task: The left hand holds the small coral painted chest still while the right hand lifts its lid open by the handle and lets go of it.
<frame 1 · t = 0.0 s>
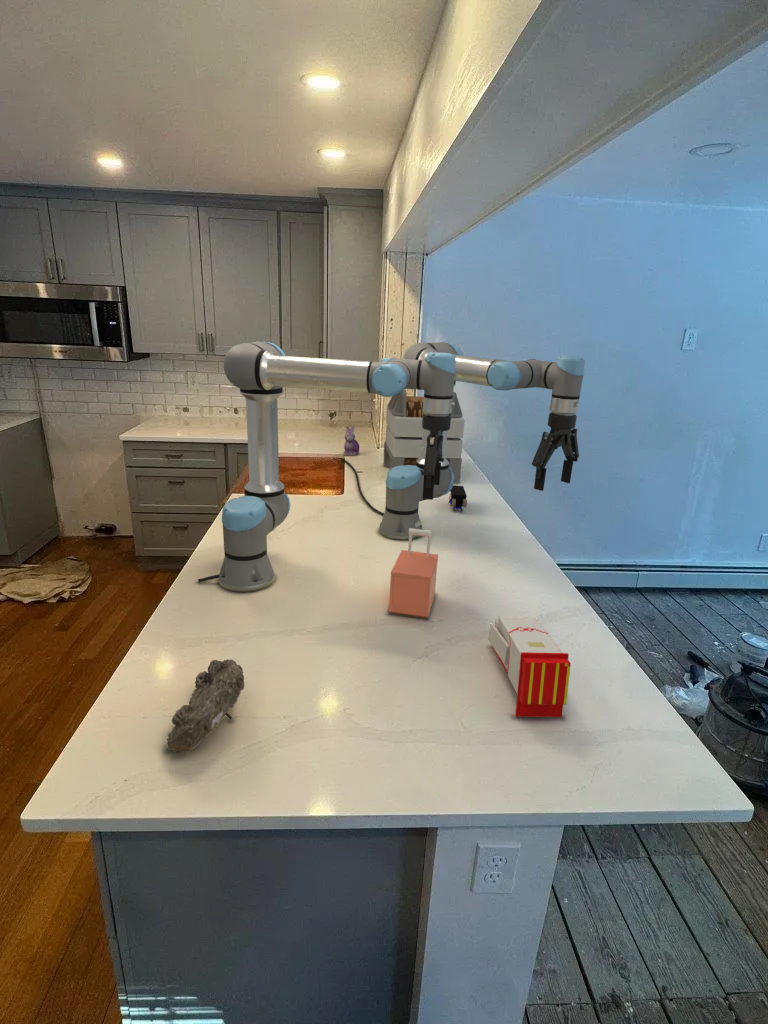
left hand: (431, 491, 155), 28 cm above the counter, tool pointing down, fingers open, 13 cm apart
right hand: (552, 485, 166), 28 cm above the counter, tool pointing down, fingers open, 13 cm apart
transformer: (419, 473, 275), on the counter
figurine: (351, 454, 305), on the counter
fossil: (212, 717, 108), on the counter
figurine character: (456, 507, 229), on the counter
lid: (416, 551, 148), point 15 cm above the counter, hinge at 0.0°
toy: (520, 675, 125), on the counter
chest: (412, 604, 153), on the counter
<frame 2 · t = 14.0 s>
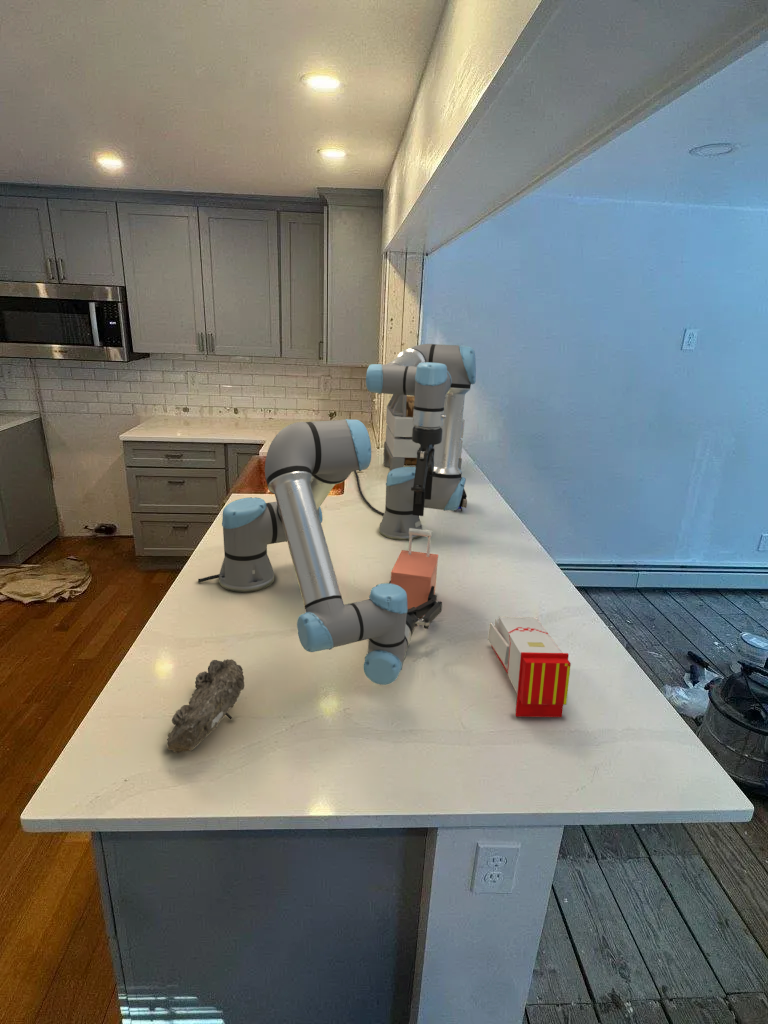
left hand: (411, 588, 147), 7 cm above the counter, tool horizontal, fingers closed on chest, 10 cm apart
right hand: (422, 506, 149), 26 cm above the counter, tool pointing down, fingers open, 13 cm apart
chest: (412, 604, 153), on the counter, touching left hand
everything else where it was.
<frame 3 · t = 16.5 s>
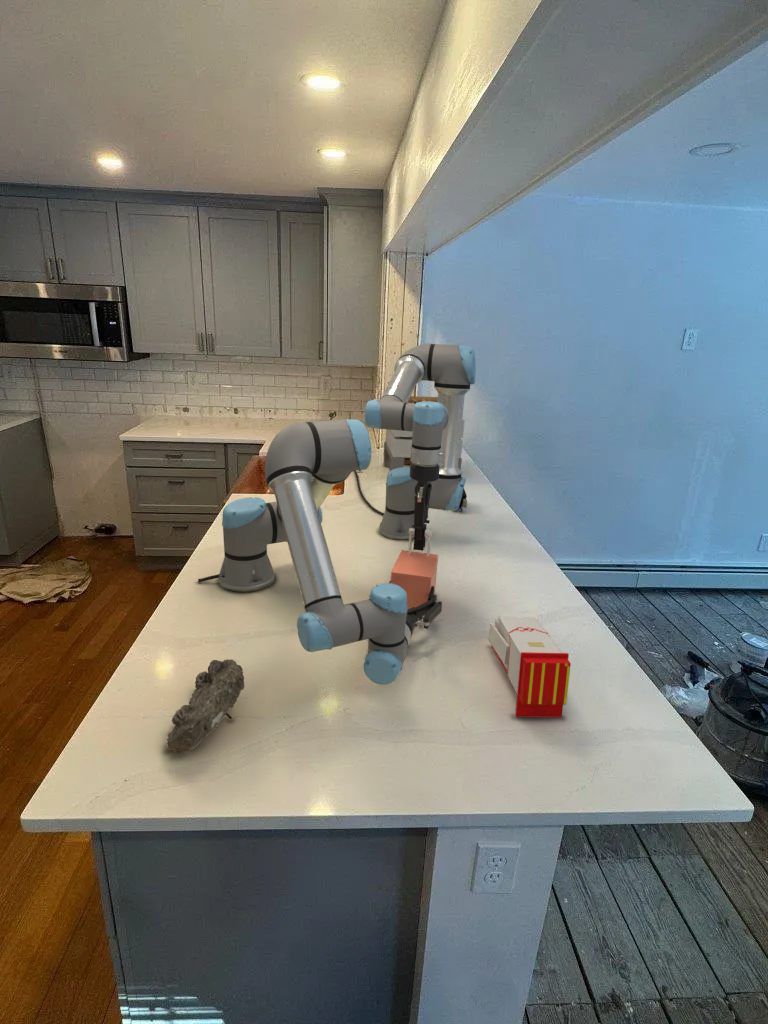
left hand: (411, 588, 147), 7 cm above the counter, tool horizontal, fingers closed on chest, 10 cm apart
right hand: (419, 547, 153), 14 cm above the counter, tool pointing down, fingers closed on lid, 2 cm apart
lid: (416, 551, 148), point 15 cm above the counter, hinge at -0.1°, touching right hand
chest: (412, 604, 153), on the counter, touching left hand
everything else where it was.
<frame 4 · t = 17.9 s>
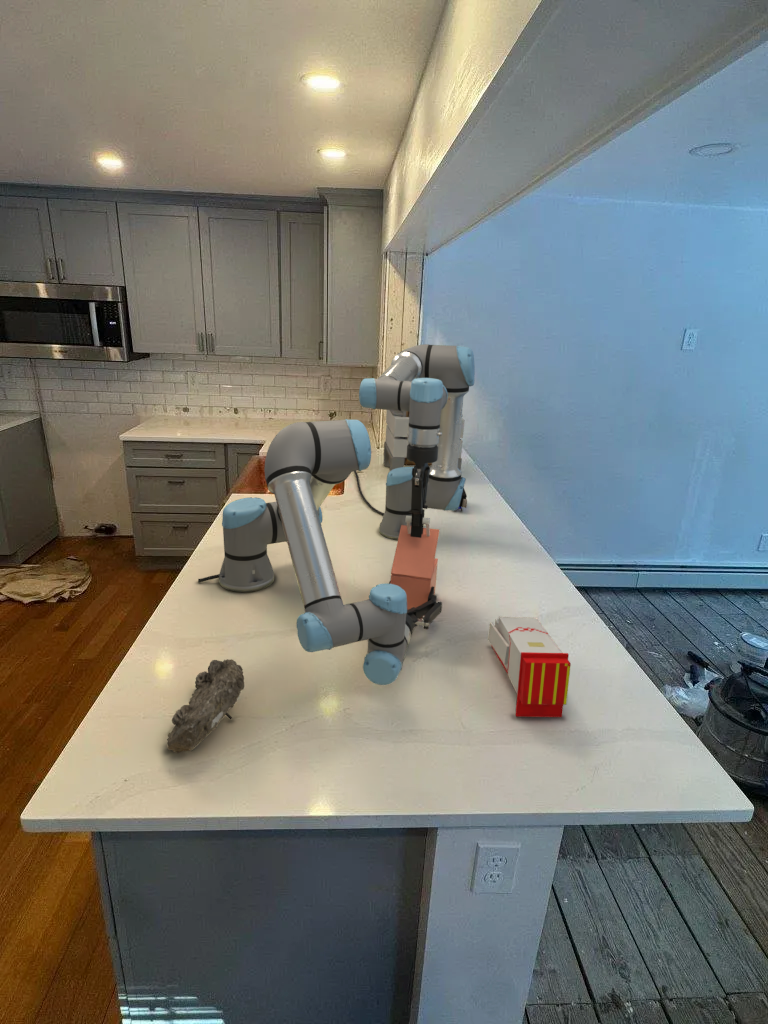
left hand: (411, 588, 147), 7 cm above the counter, tool horizontal, fingers closed on chest, 10 cm apart
right hand: (416, 534, 144), 21 cm above the counter, tool pointing down, fingers closed on lid, 2 cm apart
lid: (414, 544, 143), point 19 cm above the counter, hinge at 36.5°, touching right hand
chest: (412, 604, 153), on the counter, touching left hand
everything else where it was.
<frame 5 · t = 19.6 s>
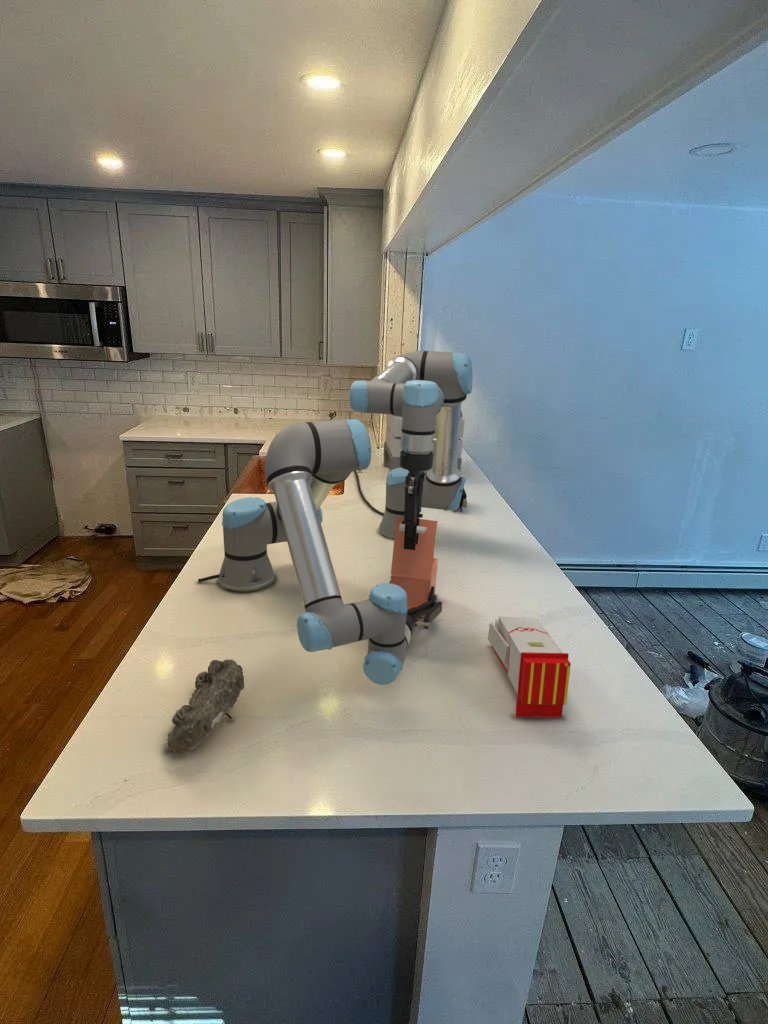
left hand: (411, 588, 147), 7 cm above the counter, tool horizontal, fingers closed on chest, 10 cm apart
right hand: (410, 545, 136), 21 cm above the counter, tool pointing down, fingers open, 3 cm apart
lid: (411, 548, 138), point 20 cm above the counter, hinge at 72.2°
chest: (412, 604, 153), on the counter, touching left hand
everything else where it was.
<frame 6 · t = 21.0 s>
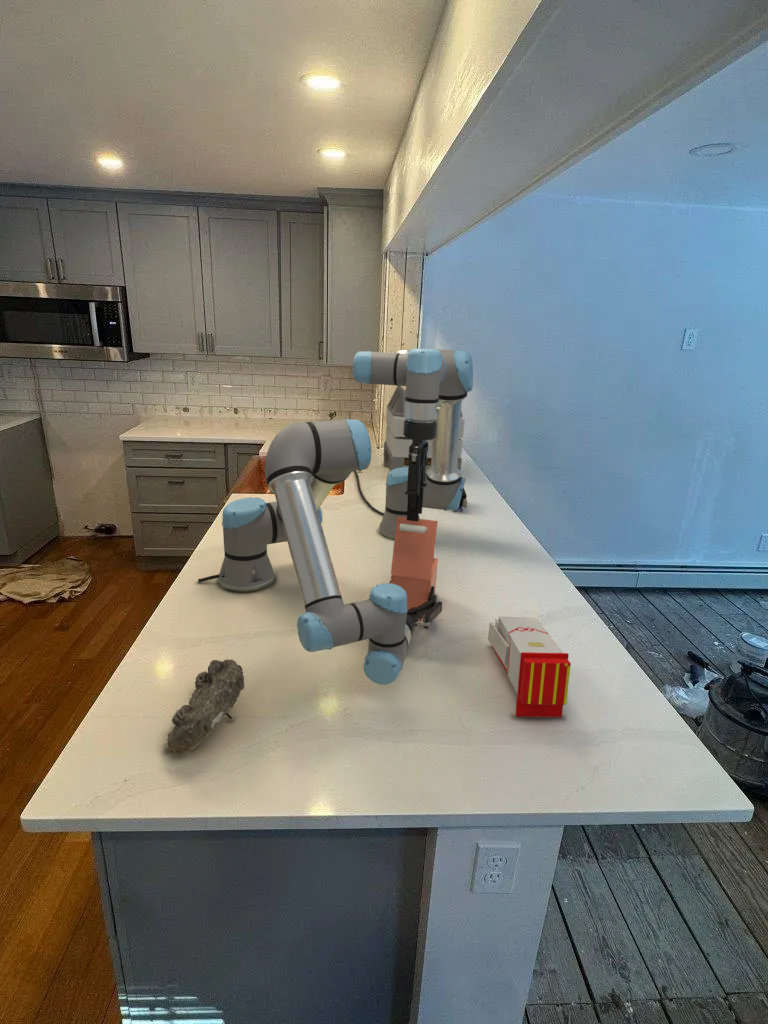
left hand: (411, 588, 147), 7 cm above the counter, tool horizontal, fingers closed on chest, 10 cm apart
right hand: (414, 516, 136), 28 cm above the counter, tool pointing down, fingers open, 5 cm apart
lid: (412, 548, 138), point 20 cm above the counter, hinge at 71.5°
chest: (412, 604, 153), on the counter, touching left hand
everything else where it was.
when the left hand's fingers open (7 cm above the counter, at t = 23.3 s): chest stays where it is, on the counter.
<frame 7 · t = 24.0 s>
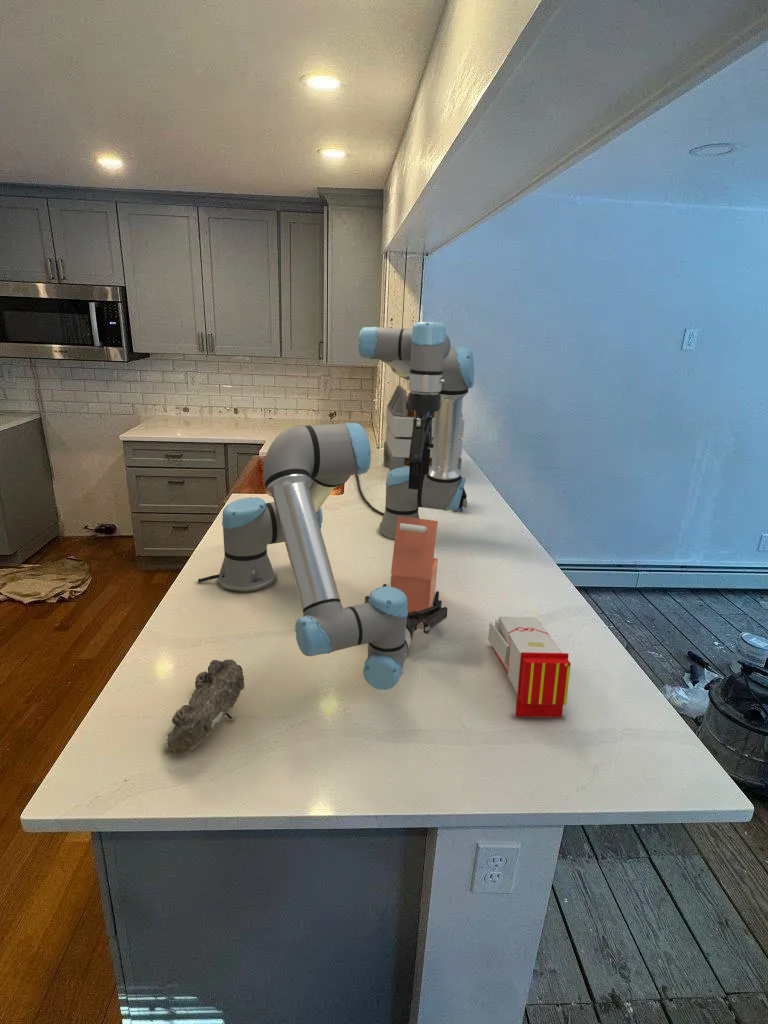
left hand: (410, 592, 145), 7 cm above the counter, tool horizontal, fingers open, 13 cm apart
right hand: (418, 481, 138), 36 cm above the counter, tool pointing down, fingers open, 13 cm apart
lid: (412, 548, 139), point 20 cm above the counter, hinge at 71.0°
chest: (412, 604, 153), on the counter
everything else where it was.
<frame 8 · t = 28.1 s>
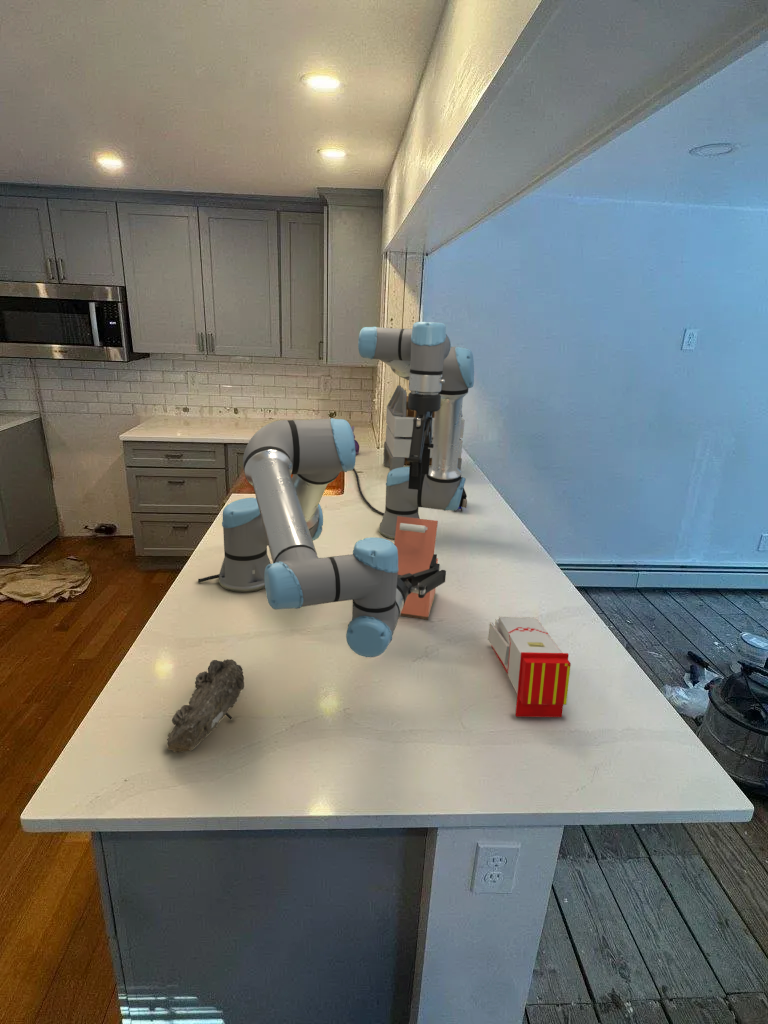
left hand: (405, 555, 128), 22 cm above the counter, tool horizontal, fingers open, 13 cm apart
right hand: (418, 481, 138), 36 cm above the counter, tool pointing down, fingers open, 13 cm apart
nothing on the counter moved.
at the end: lid at +71° (first picture: +0°); the left hand is holding nothing; the right hand is holding nothing; chest tilted 0°; chest never tilted more than 1° during the clip; chest moved 0.1 cm from its start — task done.
